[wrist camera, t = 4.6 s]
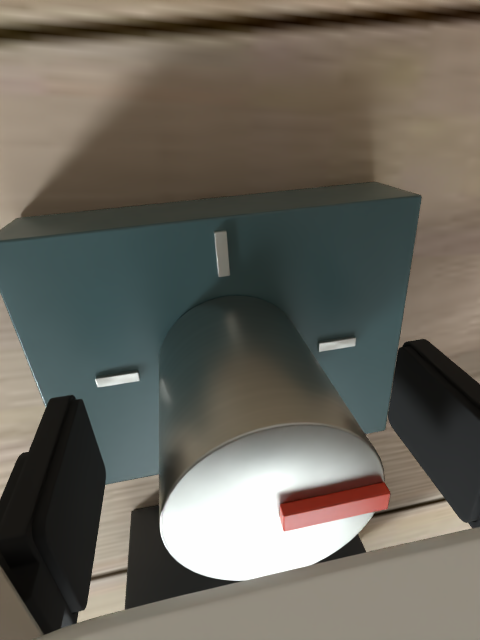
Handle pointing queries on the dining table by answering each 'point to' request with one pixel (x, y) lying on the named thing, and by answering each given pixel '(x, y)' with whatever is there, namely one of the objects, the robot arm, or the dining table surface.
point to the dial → (256, 446)
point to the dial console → (207, 295)
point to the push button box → (174, 564)
